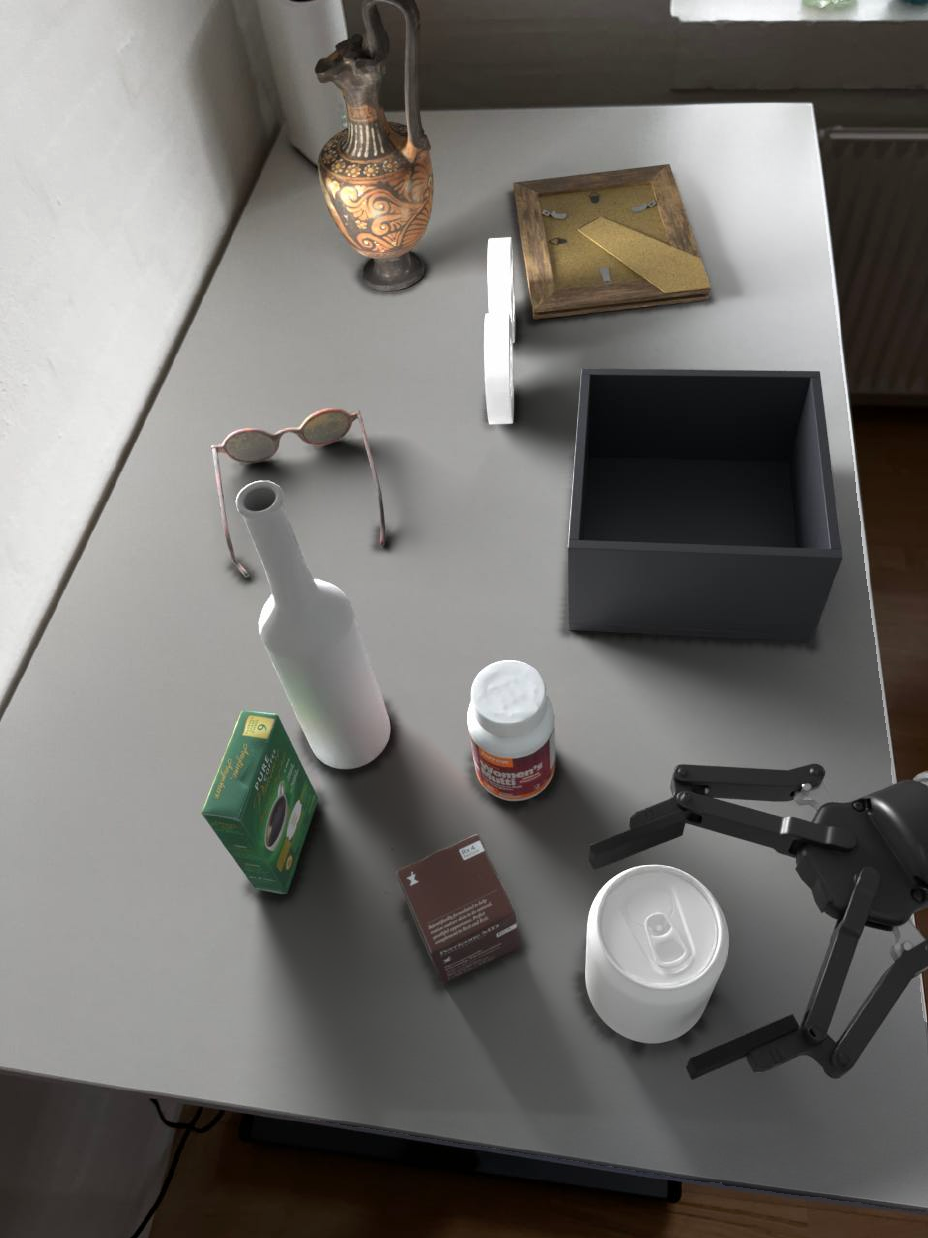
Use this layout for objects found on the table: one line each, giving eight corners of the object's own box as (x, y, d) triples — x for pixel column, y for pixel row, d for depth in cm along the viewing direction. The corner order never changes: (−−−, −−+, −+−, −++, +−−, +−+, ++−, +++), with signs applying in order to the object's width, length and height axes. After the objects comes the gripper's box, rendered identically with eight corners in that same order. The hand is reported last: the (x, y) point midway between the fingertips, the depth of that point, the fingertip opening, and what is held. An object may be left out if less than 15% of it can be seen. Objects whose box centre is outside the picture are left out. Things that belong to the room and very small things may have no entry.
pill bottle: (479, 808, 74) (466, 737, 64) (472, 735, 77) (458, 658, 68) (561, 798, 74) (559, 726, 64) (550, 726, 77) (547, 648, 68)
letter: (513, 445, 95) (507, 364, 86) (490, 446, 95) (482, 365, 87) (515, 299, 107) (511, 215, 99) (495, 299, 107) (489, 217, 99)
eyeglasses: (365, 432, 97) (356, 394, 93) (394, 544, 89) (386, 507, 85) (220, 467, 96) (204, 430, 92) (236, 583, 88) (219, 548, 84)
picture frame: (709, 301, 104) (668, 175, 117) (711, 286, 102) (669, 161, 116) (533, 321, 105) (513, 194, 118) (533, 307, 103) (512, 180, 117)
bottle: (376, 684, 81) (299, 441, 58) (401, 751, 77) (329, 519, 54) (299, 712, 80) (190, 476, 57) (321, 781, 76) (213, 558, 53)
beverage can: (676, 904, 68) (694, 838, 58) (729, 1020, 64) (758, 970, 54) (567, 943, 67) (566, 882, 58) (613, 1064, 63) (620, 1020, 53)
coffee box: (286, 788, 76) (239, 705, 65) (321, 795, 75) (280, 711, 65) (252, 889, 72) (195, 817, 61) (289, 896, 71) (238, 825, 60)
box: (441, 986, 67) (428, 955, 61) (408, 907, 70) (392, 870, 64) (522, 947, 68) (517, 913, 62) (485, 870, 71) (477, 831, 65)
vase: (362, 238, 116) (306, -48, 91) (463, 247, 113) (433, -45, 88) (328, 301, 110) (258, 13, 85) (434, 313, 107) (393, 19, 82)
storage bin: (812, 642, 79) (842, 557, 70) (568, 630, 82) (567, 547, 73) (795, 463, 90) (820, 370, 81) (580, 458, 93) (581, 367, 84)
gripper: (1049, 1037, 59) (731, 1182, 56) (820, 704, 73) (557, 807, 70) (1104, 1007, 53) (751, 1168, 50) (843, 649, 67) (555, 760, 64)
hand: (637, 957), depth 60 cm, fingers open, 13 cm apart
